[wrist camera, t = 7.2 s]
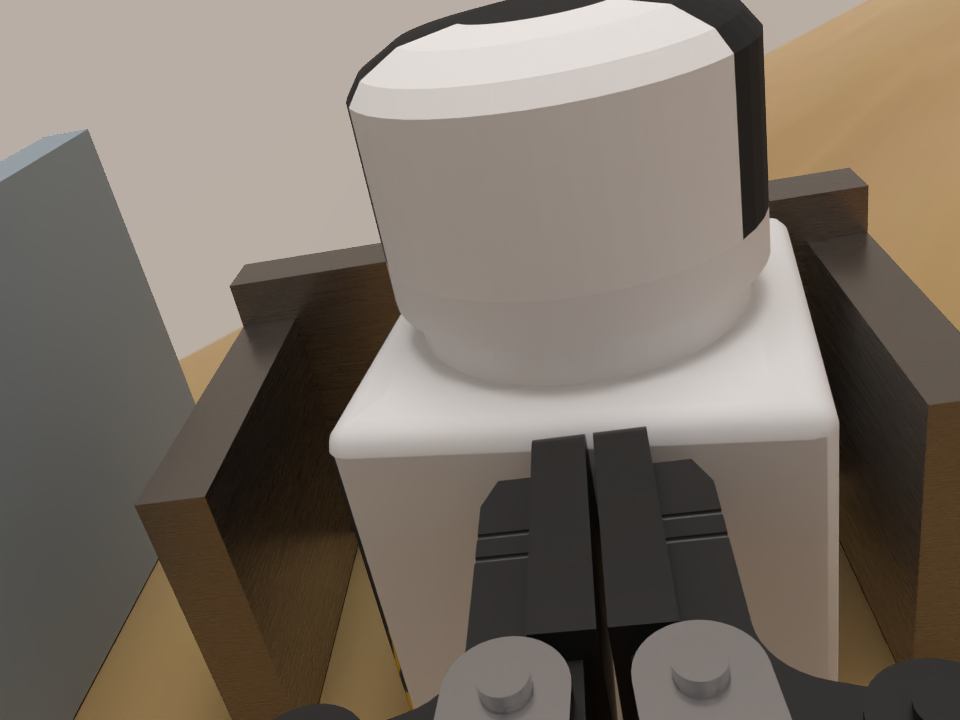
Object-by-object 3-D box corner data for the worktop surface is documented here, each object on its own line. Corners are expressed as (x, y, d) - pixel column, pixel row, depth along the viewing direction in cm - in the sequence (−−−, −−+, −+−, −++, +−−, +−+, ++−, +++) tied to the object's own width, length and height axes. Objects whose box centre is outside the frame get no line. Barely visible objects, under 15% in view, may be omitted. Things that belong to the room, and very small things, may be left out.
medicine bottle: (491, 513, 22) (377, 5, 17) (794, 505, 21) (779, -67, 15) (420, 764, 16) (206, 101, 11) (841, 786, 14) (845, 1, 9)
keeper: (247, 753, 17) (111, 455, 14) (325, 506, 24) (244, 264, 21) (984, 688, 16) (1023, 331, 12) (847, 441, 22) (849, 167, 19)
